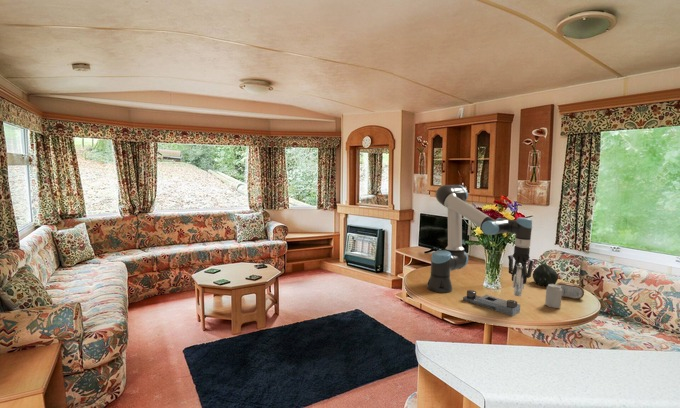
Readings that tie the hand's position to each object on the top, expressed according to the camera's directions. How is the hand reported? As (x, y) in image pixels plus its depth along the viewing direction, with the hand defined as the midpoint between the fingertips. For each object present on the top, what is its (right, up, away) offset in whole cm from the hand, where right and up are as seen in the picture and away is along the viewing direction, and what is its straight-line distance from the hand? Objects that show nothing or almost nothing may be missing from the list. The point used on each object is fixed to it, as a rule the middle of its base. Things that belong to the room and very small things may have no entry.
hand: (518, 287), depth 202 cm
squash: (+37, -7, +41) cm, 56 cm away
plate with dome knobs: (-15, -10, +1) cm, 18 cm away
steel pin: (0, -4, 0) cm, 4 cm away
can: (+21, -11, +3) cm, 24 cm away
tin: (+39, -10, +18) cm, 44 cm away
